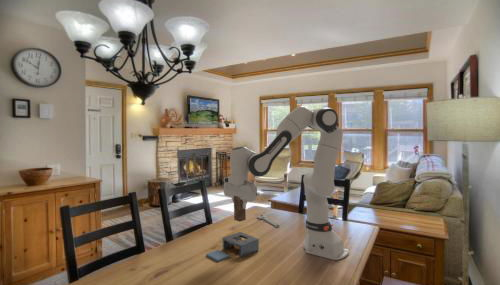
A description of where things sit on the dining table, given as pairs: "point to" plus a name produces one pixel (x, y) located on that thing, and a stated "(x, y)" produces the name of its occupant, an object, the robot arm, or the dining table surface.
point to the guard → (241, 243)
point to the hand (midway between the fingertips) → (239, 207)
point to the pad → (217, 255)
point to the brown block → (239, 209)
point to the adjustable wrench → (263, 217)
